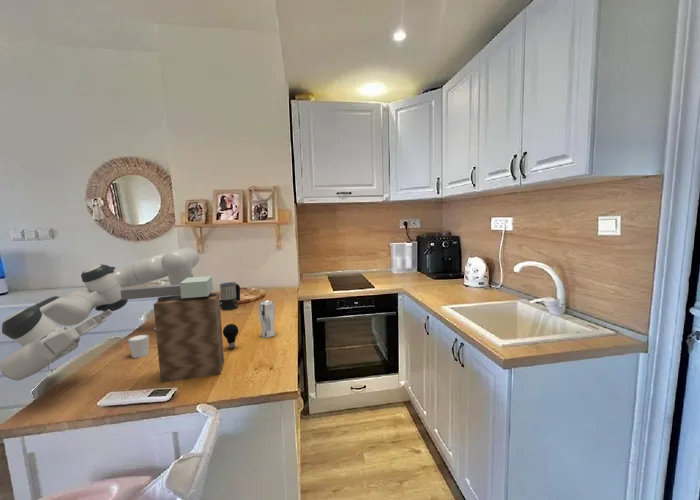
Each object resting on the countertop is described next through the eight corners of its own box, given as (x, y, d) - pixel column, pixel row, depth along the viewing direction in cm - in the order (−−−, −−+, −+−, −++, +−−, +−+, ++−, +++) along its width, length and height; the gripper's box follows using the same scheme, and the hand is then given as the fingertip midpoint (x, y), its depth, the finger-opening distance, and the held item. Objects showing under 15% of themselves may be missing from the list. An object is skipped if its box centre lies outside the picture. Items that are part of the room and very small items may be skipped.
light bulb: (230, 352, 125) (228, 327, 124) (221, 349, 128) (219, 325, 127) (242, 346, 129) (241, 323, 128) (233, 344, 133) (231, 321, 132)
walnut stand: (160, 382, 102) (153, 301, 100) (169, 368, 112) (163, 294, 109) (220, 374, 107) (214, 296, 104) (224, 361, 117) (218, 290, 114)
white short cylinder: (136, 351, 128) (134, 334, 127) (154, 350, 128) (152, 333, 128) (125, 359, 121) (123, 341, 120) (144, 357, 122) (142, 340, 121)
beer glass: (272, 338, 138) (270, 305, 136) (257, 337, 139) (255, 304, 137) (278, 332, 144) (277, 300, 143) (264, 332, 146) (262, 300, 144)
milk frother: (234, 310, 183) (232, 285, 181) (207, 311, 183) (205, 285, 181) (242, 303, 197) (241, 280, 195) (217, 304, 197) (216, 280, 196)
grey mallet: (116, 303, 97) (114, 287, 97) (130, 296, 107) (128, 281, 106) (208, 296, 104) (206, 281, 103) (212, 289, 113) (211, 275, 113)
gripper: (85, 337, 109) (123, 314, 112) (46, 363, 90) (93, 334, 92) (73, 322, 108) (111, 299, 110) (30, 345, 88) (78, 317, 91)
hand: (103, 315), depth 101 cm, fingers open, 8 cm apart
